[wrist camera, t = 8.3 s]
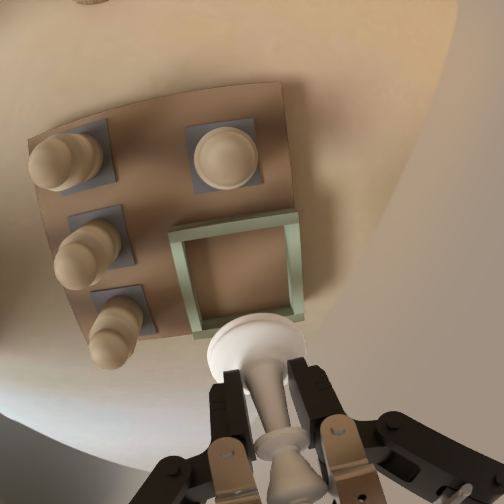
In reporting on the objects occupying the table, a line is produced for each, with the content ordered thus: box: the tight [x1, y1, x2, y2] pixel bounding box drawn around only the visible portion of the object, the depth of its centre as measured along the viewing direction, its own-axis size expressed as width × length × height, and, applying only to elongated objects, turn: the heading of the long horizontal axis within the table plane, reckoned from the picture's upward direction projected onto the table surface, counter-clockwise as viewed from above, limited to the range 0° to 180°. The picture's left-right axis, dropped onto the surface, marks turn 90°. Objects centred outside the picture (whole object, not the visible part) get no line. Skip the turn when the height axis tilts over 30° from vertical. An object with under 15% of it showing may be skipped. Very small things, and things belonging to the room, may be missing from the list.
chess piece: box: [207, 313, 328, 504], centre depth 10 cm, size 5×5×10 cm
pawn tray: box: [28, 82, 304, 370], centre depth 19 cm, size 19×20×8 cm
